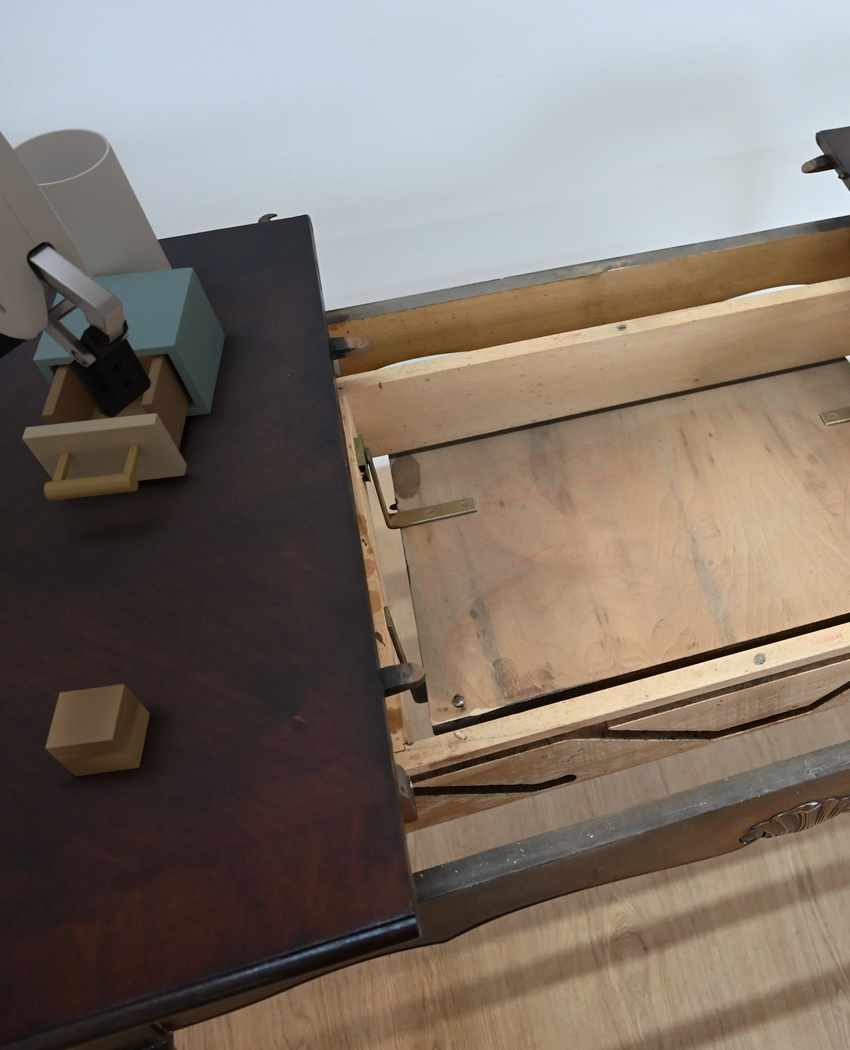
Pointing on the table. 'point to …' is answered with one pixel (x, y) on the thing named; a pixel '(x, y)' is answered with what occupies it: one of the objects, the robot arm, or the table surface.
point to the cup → (93, 201)
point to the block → (98, 730)
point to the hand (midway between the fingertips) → (68, 373)
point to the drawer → (110, 435)
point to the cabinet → (156, 329)
